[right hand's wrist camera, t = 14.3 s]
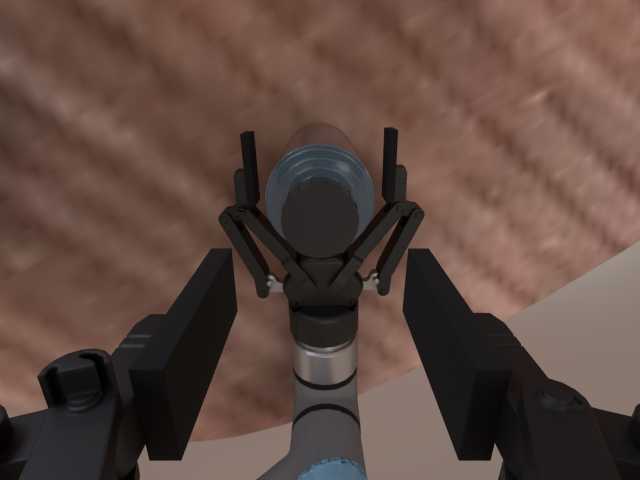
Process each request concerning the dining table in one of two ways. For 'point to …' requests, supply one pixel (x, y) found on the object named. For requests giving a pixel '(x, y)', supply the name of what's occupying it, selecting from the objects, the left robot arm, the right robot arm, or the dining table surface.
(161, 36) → the dining table surface
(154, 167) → the dining table surface
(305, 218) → the cap
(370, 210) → the bottle
